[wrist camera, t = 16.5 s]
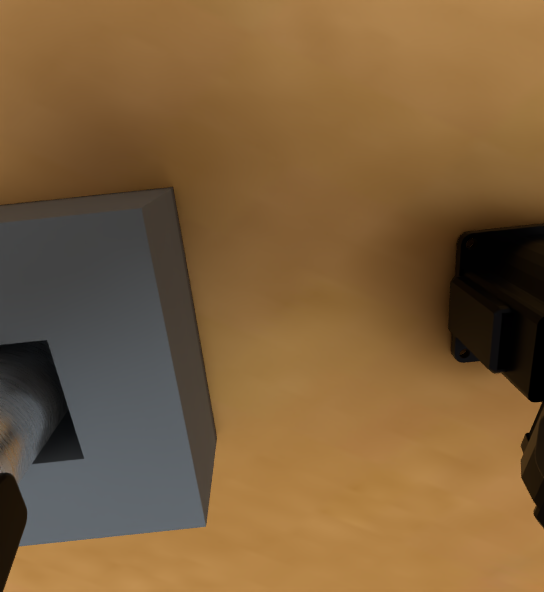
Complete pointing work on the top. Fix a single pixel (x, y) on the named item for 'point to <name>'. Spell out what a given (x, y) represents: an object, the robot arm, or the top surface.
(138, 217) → the slate socket block
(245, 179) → the top surface
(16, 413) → the aluminium peg
